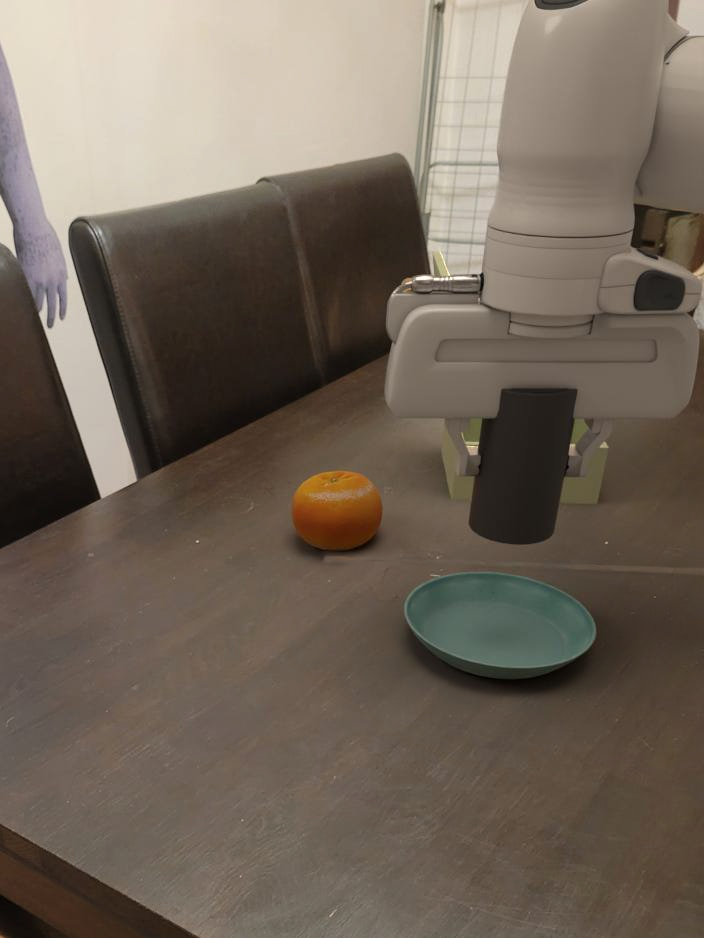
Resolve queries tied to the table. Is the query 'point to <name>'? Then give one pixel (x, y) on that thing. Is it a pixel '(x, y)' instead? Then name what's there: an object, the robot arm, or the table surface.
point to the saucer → (499, 624)
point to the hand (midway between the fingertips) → (519, 474)
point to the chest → (573, 487)
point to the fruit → (337, 510)
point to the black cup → (523, 465)
